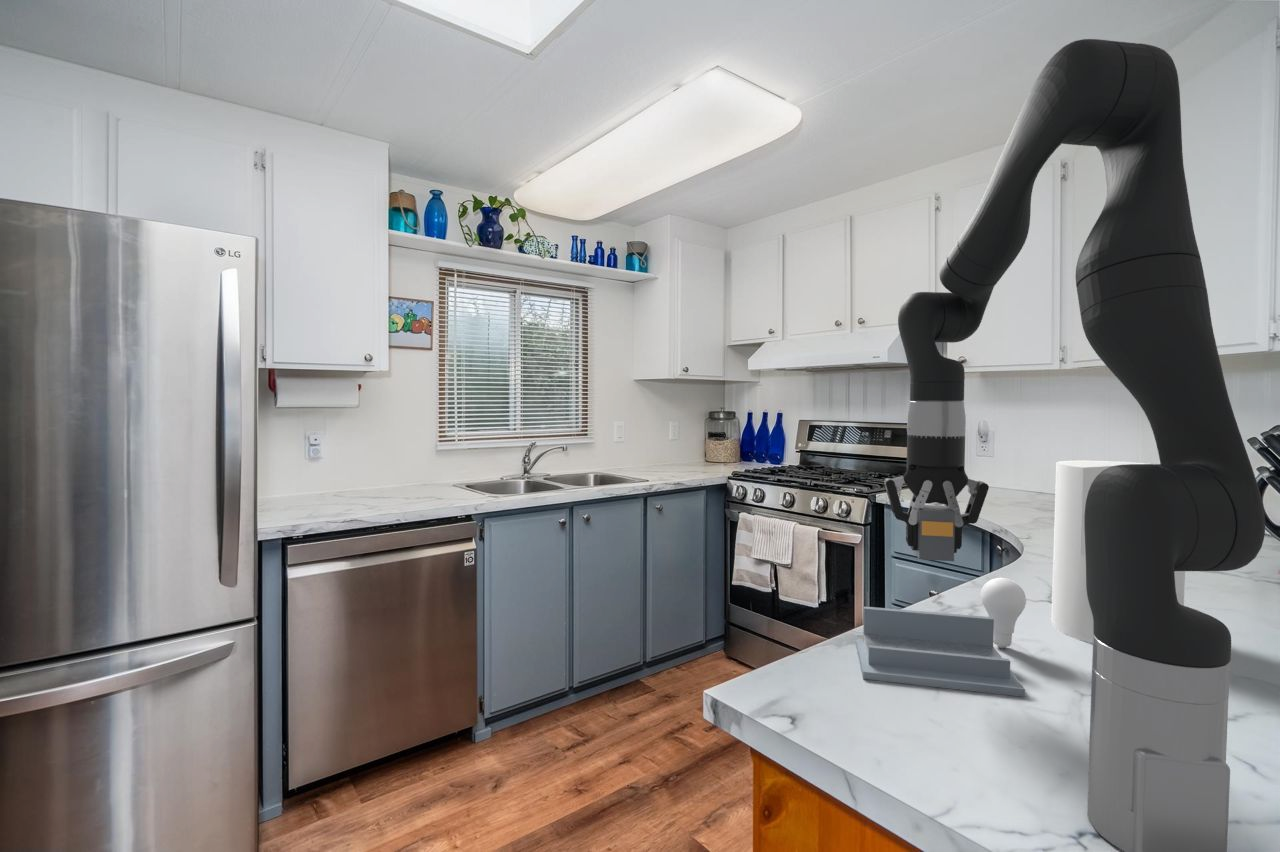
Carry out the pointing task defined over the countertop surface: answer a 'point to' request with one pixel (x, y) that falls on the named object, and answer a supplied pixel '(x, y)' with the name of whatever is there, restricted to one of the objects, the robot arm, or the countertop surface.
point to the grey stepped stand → (930, 664)
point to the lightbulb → (1003, 607)
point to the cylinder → (1077, 548)
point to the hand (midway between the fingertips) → (933, 549)
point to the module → (936, 533)
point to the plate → (929, 645)
